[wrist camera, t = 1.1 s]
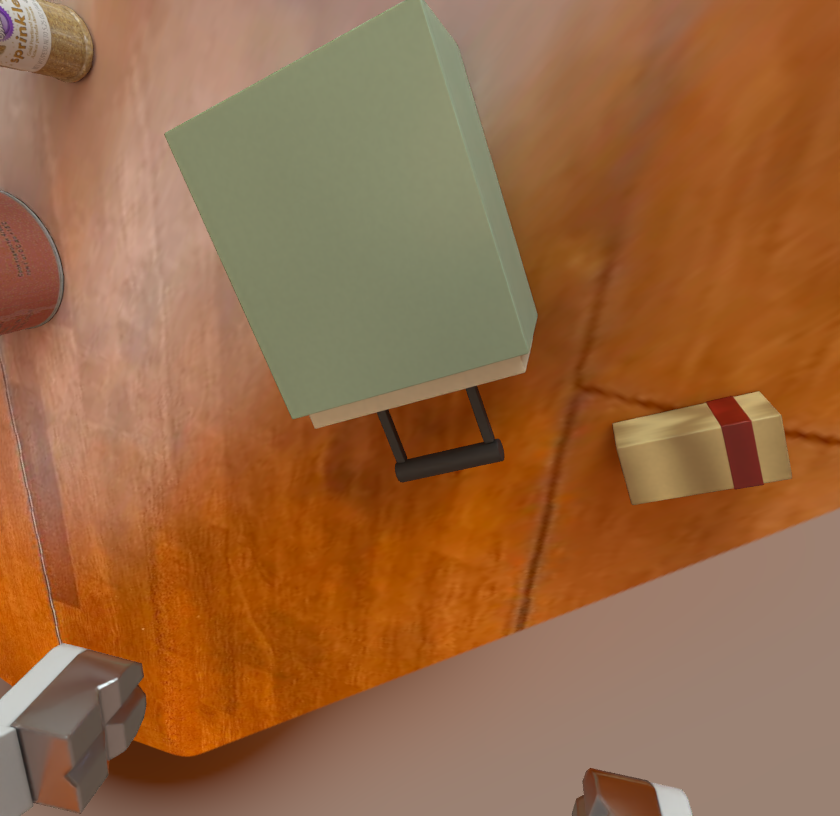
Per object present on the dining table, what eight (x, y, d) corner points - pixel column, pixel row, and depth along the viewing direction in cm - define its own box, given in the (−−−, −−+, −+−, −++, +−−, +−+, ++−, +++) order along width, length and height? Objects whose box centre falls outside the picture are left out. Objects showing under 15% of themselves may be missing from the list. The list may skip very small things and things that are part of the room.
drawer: (557, 417, 37) (554, 465, 30) (383, 457, 42) (349, 507, 35) (457, 87, 31) (428, 61, 25) (269, 177, 36) (202, 174, 29)
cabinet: (537, 316, 36) (529, 353, 28) (347, 373, 41) (292, 419, 33) (457, 43, 31) (418, -8, 23) (254, 146, 36) (163, 133, 28)
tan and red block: (759, 389, 34) (781, 414, 30) (770, 449, 35) (793, 480, 32) (611, 422, 37) (615, 447, 34) (626, 476, 38) (632, 506, 35)
